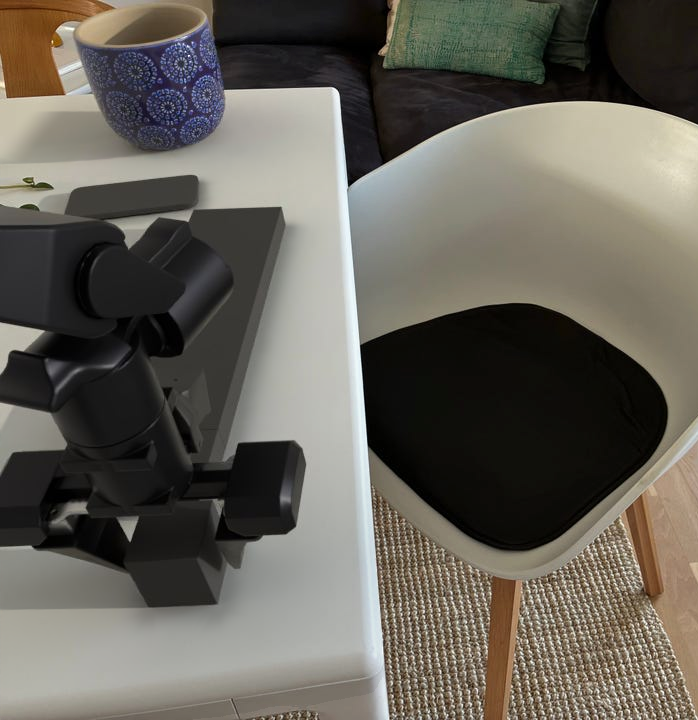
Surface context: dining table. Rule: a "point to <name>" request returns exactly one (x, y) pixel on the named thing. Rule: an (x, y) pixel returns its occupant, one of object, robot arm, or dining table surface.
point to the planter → (153, 73)
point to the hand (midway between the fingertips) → (186, 565)
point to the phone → (134, 197)
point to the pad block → (177, 556)
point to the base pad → (231, 313)
